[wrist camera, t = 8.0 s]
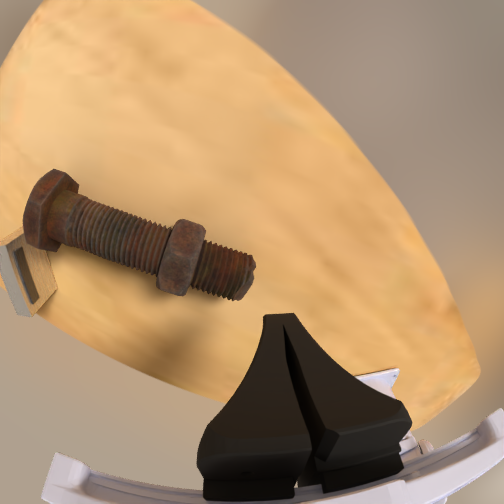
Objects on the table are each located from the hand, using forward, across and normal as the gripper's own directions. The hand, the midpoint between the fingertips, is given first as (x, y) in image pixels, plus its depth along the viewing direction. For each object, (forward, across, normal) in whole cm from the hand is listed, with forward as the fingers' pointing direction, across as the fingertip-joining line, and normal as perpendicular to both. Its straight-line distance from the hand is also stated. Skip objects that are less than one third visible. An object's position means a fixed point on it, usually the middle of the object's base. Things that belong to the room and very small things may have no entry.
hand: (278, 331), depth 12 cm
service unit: (+8, +19, -1) cm, 21 cm away
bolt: (+8, +8, -2) cm, 12 cm away
